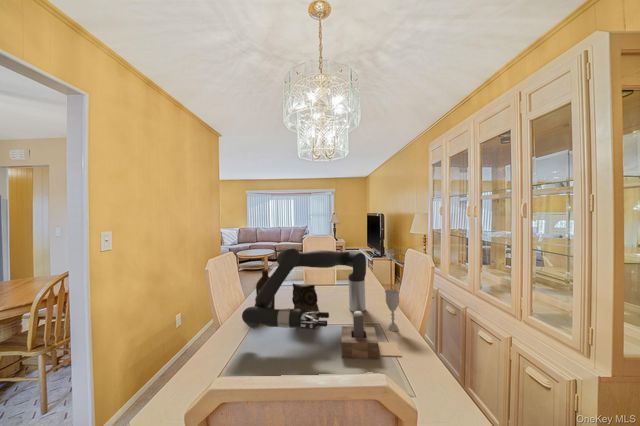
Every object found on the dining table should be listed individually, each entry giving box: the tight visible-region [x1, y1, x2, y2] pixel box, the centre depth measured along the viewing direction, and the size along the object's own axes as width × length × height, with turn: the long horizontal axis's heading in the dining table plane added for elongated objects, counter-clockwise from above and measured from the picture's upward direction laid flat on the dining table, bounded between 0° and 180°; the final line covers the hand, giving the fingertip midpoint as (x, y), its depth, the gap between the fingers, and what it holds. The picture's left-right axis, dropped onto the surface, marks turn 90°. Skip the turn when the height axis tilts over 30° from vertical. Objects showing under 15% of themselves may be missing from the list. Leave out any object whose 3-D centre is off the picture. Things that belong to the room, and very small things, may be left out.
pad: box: [378, 341, 402, 358], centre depth 105 cm, size 10×8×1 cm
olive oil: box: [255, 268, 276, 309], centre depth 148 cm, size 11×11×25 cm
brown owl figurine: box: [291, 282, 320, 320], centre depth 135 cm, size 13×13×20 cm
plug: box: [352, 311, 365, 338], centre depth 106 cm, size 4×4×15 cm
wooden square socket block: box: [340, 326, 379, 360], centre depth 107 cm, size 14×14×6 cm
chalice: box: [384, 288, 400, 332], centre depth 124 cm, size 7×7×18 cm
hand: (328, 319), depth 108 cm, fingers open, 8 cm apart
